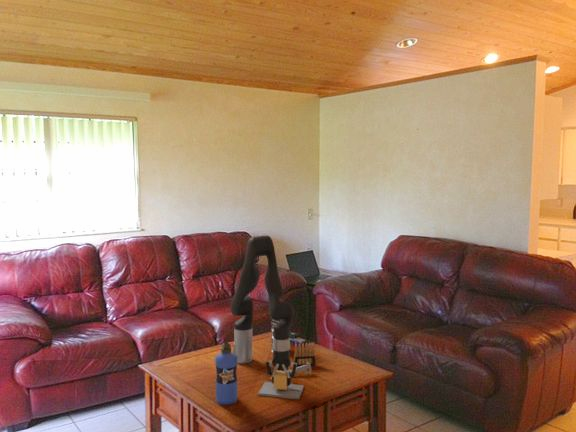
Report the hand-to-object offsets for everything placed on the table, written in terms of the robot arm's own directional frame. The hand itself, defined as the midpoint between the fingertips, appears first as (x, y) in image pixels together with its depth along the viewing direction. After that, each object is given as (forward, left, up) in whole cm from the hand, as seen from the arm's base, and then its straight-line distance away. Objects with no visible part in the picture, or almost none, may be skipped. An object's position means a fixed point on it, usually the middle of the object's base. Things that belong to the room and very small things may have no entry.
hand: (281, 384), depth 220 cm
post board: (0, 0, -3) cm, 3 cm away
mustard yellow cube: (0, 0, -1) cm, 1 cm away
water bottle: (-21, -13, -3) cm, 25 cm away
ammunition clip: (+5, +31, -3) cm, 32 cm away
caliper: (+1, +17, -4) cm, 17 cm away
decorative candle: (-12, +48, -3) cm, 50 cm away
